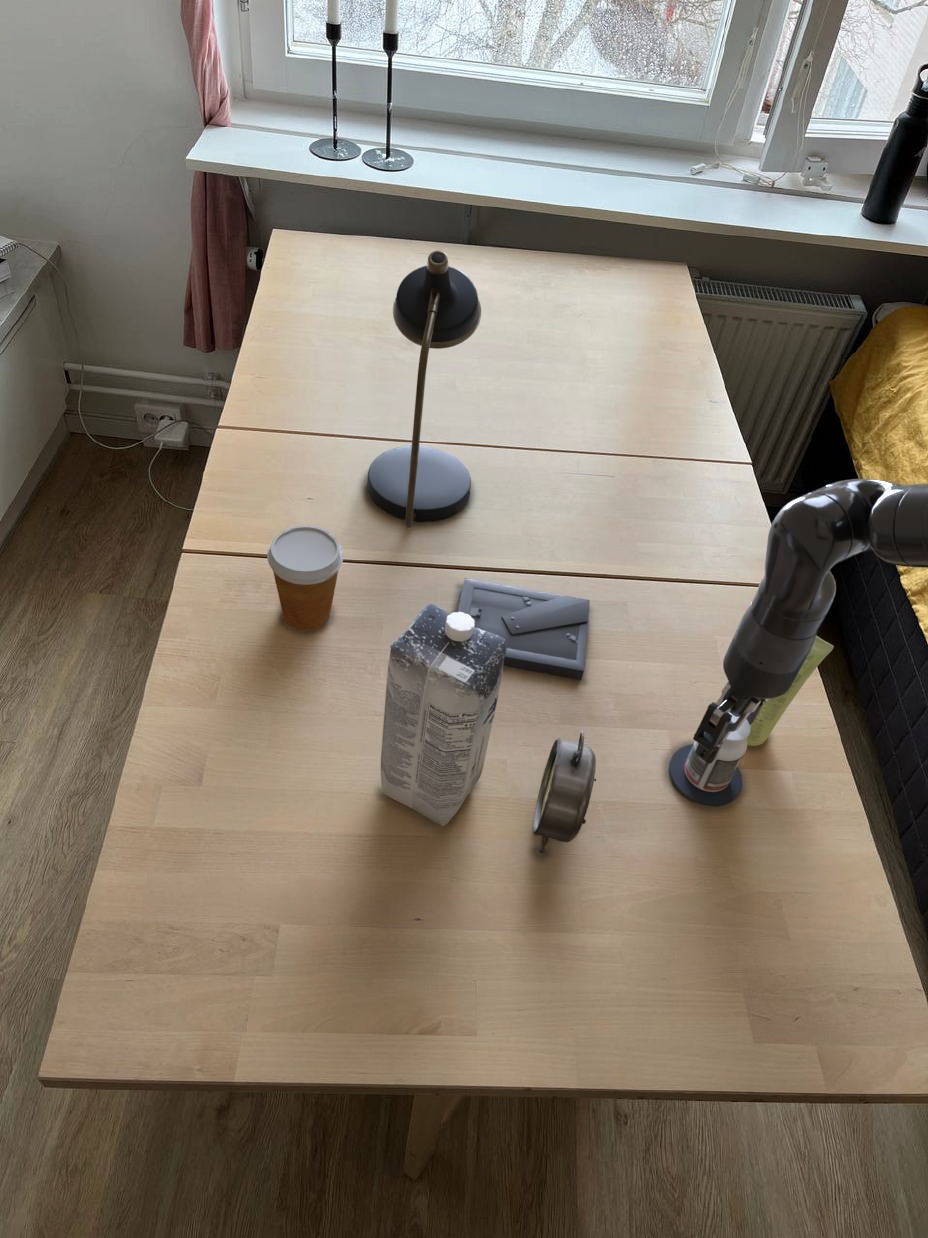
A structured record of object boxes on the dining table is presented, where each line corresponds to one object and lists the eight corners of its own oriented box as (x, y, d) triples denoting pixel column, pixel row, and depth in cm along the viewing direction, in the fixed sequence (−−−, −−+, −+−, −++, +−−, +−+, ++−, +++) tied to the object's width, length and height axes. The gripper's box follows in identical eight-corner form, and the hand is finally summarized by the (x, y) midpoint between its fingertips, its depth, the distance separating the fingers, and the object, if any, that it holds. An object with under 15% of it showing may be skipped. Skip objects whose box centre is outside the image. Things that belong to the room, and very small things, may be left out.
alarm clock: (540, 778, 116) (564, 692, 104) (584, 789, 115) (614, 704, 103) (525, 857, 108) (550, 774, 96) (573, 869, 108) (603, 787, 96)
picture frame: (587, 609, 136) (463, 587, 137) (590, 598, 135) (464, 576, 135) (581, 680, 127) (448, 656, 127) (584, 669, 125) (450, 645, 126)
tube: (766, 717, 126) (822, 613, 112) (775, 748, 123) (834, 646, 108) (724, 715, 125) (775, 610, 111) (732, 746, 122) (786, 643, 108)
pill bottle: (734, 766, 119) (760, 717, 112) (723, 801, 116) (749, 752, 108) (690, 748, 121) (713, 698, 113) (677, 781, 117) (700, 732, 110)
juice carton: (448, 839, 109) (476, 686, 89) (369, 795, 111) (380, 637, 92) (485, 783, 114) (519, 628, 95) (410, 743, 117) (427, 584, 98)
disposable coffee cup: (256, 622, 128) (251, 556, 119) (295, 579, 134) (293, 513, 126) (318, 650, 126) (318, 584, 117) (355, 605, 132) (357, 539, 123)
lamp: (475, 461, 157) (508, 230, 130) (461, 549, 142) (495, 309, 114) (377, 446, 157) (389, 211, 130) (352, 533, 142) (360, 288, 114)
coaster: (755, 778, 119) (756, 776, 119) (714, 820, 114) (715, 818, 114) (696, 733, 123) (697, 731, 123) (654, 772, 118) (655, 770, 118)
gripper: (764, 700, 96) (716, 792, 107) (834, 633, 103) (783, 725, 115) (702, 657, 99) (663, 751, 111) (775, 594, 107) (731, 688, 118)
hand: (724, 738), depth 113 cm, fingers open, 8 cm apart
